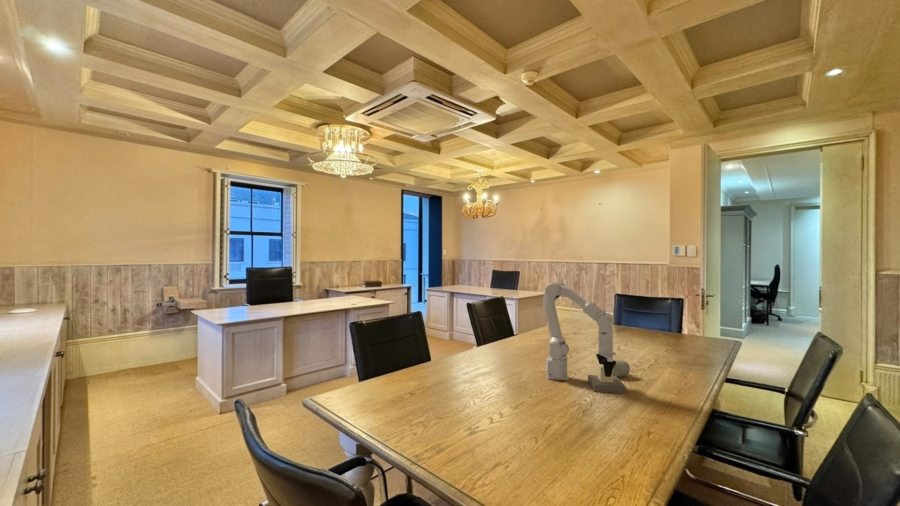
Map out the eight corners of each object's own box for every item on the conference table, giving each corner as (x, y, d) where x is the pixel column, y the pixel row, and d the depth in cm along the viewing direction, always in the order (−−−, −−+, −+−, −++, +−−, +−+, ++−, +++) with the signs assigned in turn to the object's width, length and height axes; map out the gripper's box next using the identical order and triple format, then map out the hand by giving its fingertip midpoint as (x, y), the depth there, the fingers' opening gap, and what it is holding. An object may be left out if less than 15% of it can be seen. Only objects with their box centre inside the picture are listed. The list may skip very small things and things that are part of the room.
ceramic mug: (631, 377, 170) (631, 361, 170) (617, 379, 167) (616, 362, 167) (614, 371, 180) (614, 355, 180) (600, 372, 177) (600, 356, 177)
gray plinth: (594, 391, 152) (594, 384, 152) (587, 381, 164) (587, 374, 164) (624, 393, 151) (624, 385, 151) (616, 383, 162) (616, 376, 162)
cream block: (600, 381, 155) (600, 367, 155) (598, 377, 160) (598, 364, 160) (613, 382, 154) (613, 368, 154) (610, 378, 159) (610, 364, 159)
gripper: (620, 346, 150) (620, 379, 150) (610, 338, 164) (610, 368, 164) (602, 345, 151) (602, 378, 151) (594, 337, 165) (594, 368, 165)
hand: (605, 373), depth 157 cm, fingers open, 7 cm apart
